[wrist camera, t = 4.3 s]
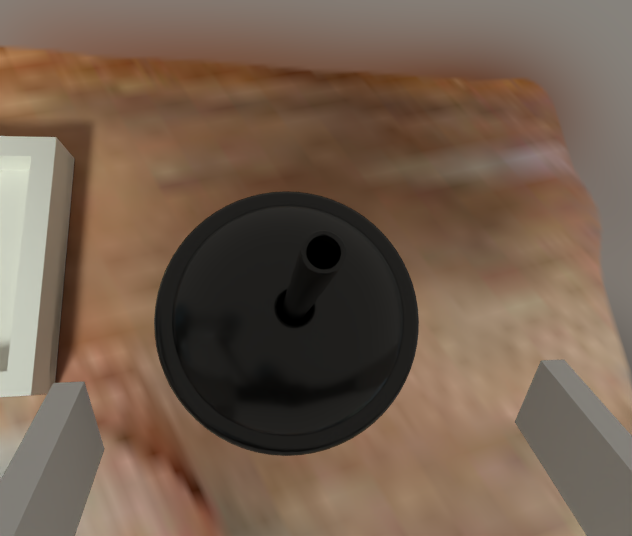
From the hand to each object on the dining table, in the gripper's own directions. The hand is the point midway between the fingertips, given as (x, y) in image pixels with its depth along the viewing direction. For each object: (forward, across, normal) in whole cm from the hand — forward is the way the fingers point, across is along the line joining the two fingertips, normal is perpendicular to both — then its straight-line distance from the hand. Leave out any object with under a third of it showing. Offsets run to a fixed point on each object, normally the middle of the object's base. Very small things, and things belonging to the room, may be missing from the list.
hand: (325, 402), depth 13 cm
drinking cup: (+11, -1, -7) cm, 13 cm away
